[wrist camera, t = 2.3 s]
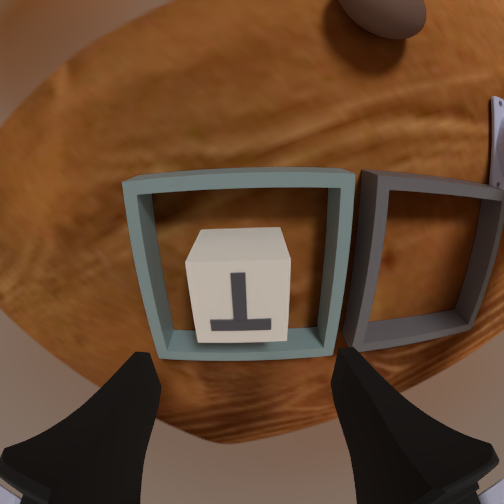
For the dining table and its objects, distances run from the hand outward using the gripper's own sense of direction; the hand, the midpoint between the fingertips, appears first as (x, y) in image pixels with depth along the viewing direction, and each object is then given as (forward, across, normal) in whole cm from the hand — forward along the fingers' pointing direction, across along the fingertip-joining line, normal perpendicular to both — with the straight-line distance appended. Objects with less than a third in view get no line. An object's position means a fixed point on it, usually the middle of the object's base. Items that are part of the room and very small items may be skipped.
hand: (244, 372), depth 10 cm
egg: (+10, -9, -18) cm, 22 cm away
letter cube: (+10, 0, 0) cm, 10 cm away
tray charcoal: (+10, -14, 0) cm, 17 cm away
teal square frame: (+10, 0, 0) cm, 10 cm away
